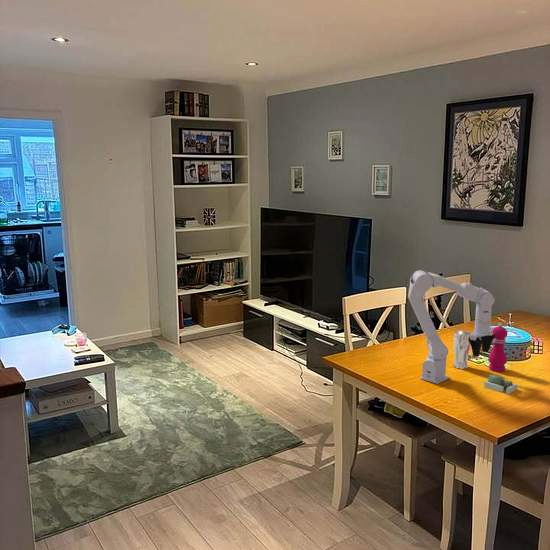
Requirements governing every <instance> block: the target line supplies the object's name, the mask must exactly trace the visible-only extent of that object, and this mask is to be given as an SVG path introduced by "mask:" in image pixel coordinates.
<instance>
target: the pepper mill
mask: <svg viewBox="0 0 550 550" xmlns="http://www.w3.org/2000/svg"><path fill="white" fill-rule="evenodd" d="M492 328H493V334H494V335H495V338H494V339H493V341H492V342H493V345H492V346H493V347H492V350H491V351H490V352H489V355H488V359H487V360H488V362H489V364H488V370H489V371H491V372H495V373H503V372H506V364H507V363H508V357H507V354H506V352H505V343H506V338H507V337H508V330H507V329H506V328H505V327H503V324H502V323H501V322H499V323H497V326H495V327H492Z"/></svg>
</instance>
